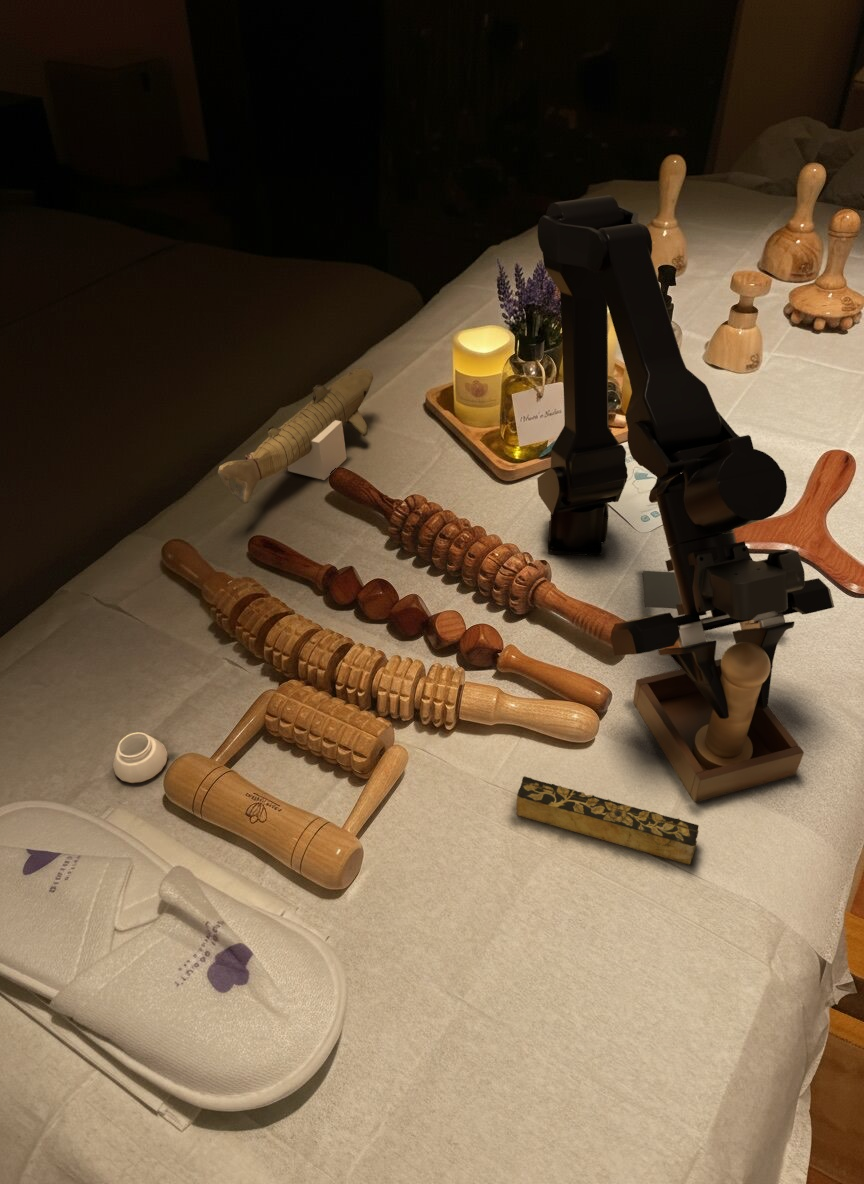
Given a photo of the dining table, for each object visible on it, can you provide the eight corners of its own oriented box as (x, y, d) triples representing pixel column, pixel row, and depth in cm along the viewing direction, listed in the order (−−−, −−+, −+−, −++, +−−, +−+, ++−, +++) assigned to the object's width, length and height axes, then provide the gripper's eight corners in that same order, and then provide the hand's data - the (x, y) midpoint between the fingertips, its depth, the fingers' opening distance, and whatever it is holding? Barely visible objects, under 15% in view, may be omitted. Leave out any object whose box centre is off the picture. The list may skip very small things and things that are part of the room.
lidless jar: (147, 735, 87) (105, 767, 84) (140, 716, 85) (96, 748, 82) (178, 760, 84) (135, 794, 82) (171, 740, 83) (127, 774, 80)
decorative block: (694, 846, 75) (700, 822, 73) (690, 870, 73) (696, 846, 71) (522, 797, 80) (523, 773, 77) (514, 818, 78) (515, 794, 76)
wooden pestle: (695, 772, 80) (721, 669, 71) (690, 728, 84) (714, 625, 75) (754, 776, 79) (787, 673, 70) (746, 732, 83) (777, 629, 74)
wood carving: (207, 534, 112) (187, 460, 105) (346, 409, 136) (337, 341, 128) (264, 551, 109) (247, 475, 102) (396, 420, 132) (391, 351, 125)
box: (632, 705, 87) (636, 679, 85) (723, 682, 89) (730, 656, 87) (693, 806, 78) (700, 780, 76) (794, 778, 80) (804, 752, 77)
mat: (646, 632, 95) (647, 628, 95) (642, 573, 103) (643, 570, 102) (780, 640, 93) (781, 636, 93) (766, 580, 101) (766, 576, 100)
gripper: (639, 548, 67) (687, 746, 67) (851, 502, 71) (899, 691, 70) (591, 566, 78) (631, 736, 77) (776, 525, 82) (816, 688, 81)
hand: (743, 713), depth 76 cm, fingers closed on wooden pestle, 3 cm apart
